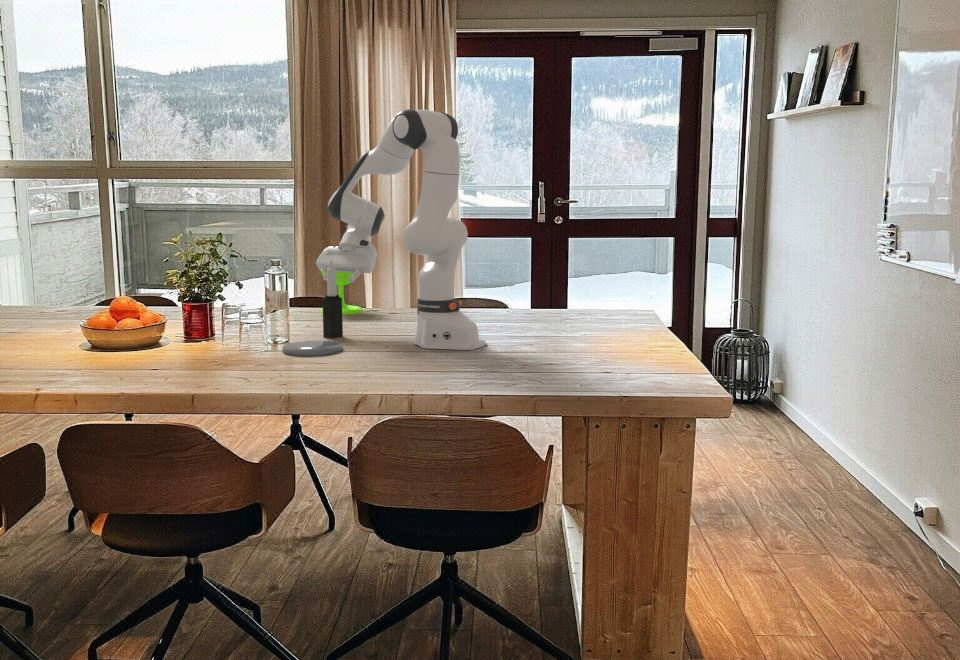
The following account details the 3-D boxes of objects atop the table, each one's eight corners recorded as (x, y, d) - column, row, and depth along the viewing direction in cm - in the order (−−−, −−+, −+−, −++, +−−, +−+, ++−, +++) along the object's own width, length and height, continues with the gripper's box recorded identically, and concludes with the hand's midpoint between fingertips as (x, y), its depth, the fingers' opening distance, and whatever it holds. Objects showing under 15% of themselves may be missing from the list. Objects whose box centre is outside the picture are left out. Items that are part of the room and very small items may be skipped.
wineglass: (356, 315, 344) (354, 266, 341) (314, 313, 346) (313, 265, 343) (367, 308, 359) (366, 262, 356) (328, 307, 362) (326, 261, 359)
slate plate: (354, 347, 284) (353, 343, 284) (323, 358, 267) (323, 354, 267) (303, 342, 290) (303, 339, 290) (270, 353, 274) (270, 349, 274)
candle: (332, 338, 298) (330, 261, 293) (321, 336, 301) (319, 259, 296) (344, 336, 302) (342, 259, 297) (333, 334, 305) (331, 258, 300)
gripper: (321, 240, 310) (306, 272, 303) (375, 242, 303) (361, 275, 295) (329, 252, 315) (314, 284, 308) (382, 255, 308) (368, 287, 300)
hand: (338, 280), depth 302 cm, fingers open, 8 cm apart
